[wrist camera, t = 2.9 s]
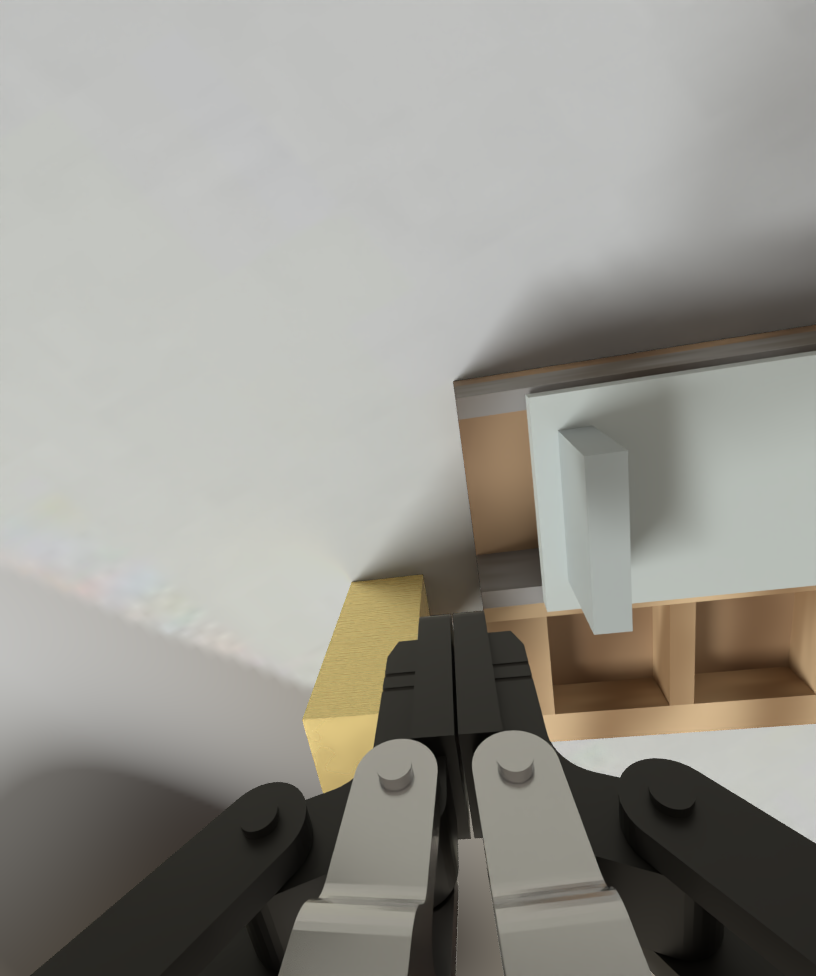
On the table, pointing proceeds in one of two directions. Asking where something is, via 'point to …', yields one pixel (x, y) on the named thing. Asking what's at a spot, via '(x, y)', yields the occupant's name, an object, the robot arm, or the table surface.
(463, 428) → the board
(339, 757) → the pin
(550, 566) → the lid
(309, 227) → the table surface
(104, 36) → the table surface
